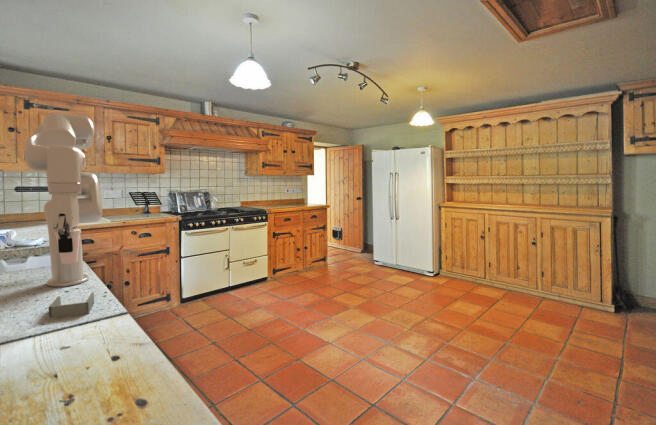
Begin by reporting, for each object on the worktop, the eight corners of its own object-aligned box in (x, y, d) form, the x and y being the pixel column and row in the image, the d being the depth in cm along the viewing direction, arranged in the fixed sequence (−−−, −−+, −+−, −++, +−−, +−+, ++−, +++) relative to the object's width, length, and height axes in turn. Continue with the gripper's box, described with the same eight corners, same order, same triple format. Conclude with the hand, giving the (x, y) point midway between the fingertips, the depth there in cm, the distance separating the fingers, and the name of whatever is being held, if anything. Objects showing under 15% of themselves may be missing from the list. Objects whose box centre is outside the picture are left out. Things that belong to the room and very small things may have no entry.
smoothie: (68, 265, 97) (65, 217, 95) (50, 264, 98) (46, 216, 96) (88, 260, 103) (85, 214, 101) (71, 258, 104) (68, 213, 102)
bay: (58, 307, 104) (57, 296, 104) (94, 303, 108) (93, 292, 108) (49, 319, 96) (48, 307, 96) (88, 313, 100) (87, 302, 99)
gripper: (57, 187, 104) (61, 244, 106) (38, 190, 89) (43, 257, 91) (86, 187, 107) (90, 243, 109) (73, 190, 92) (77, 255, 94)
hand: (69, 249), depth 100 cm, fingers closed on smoothie, 6 cm apart
